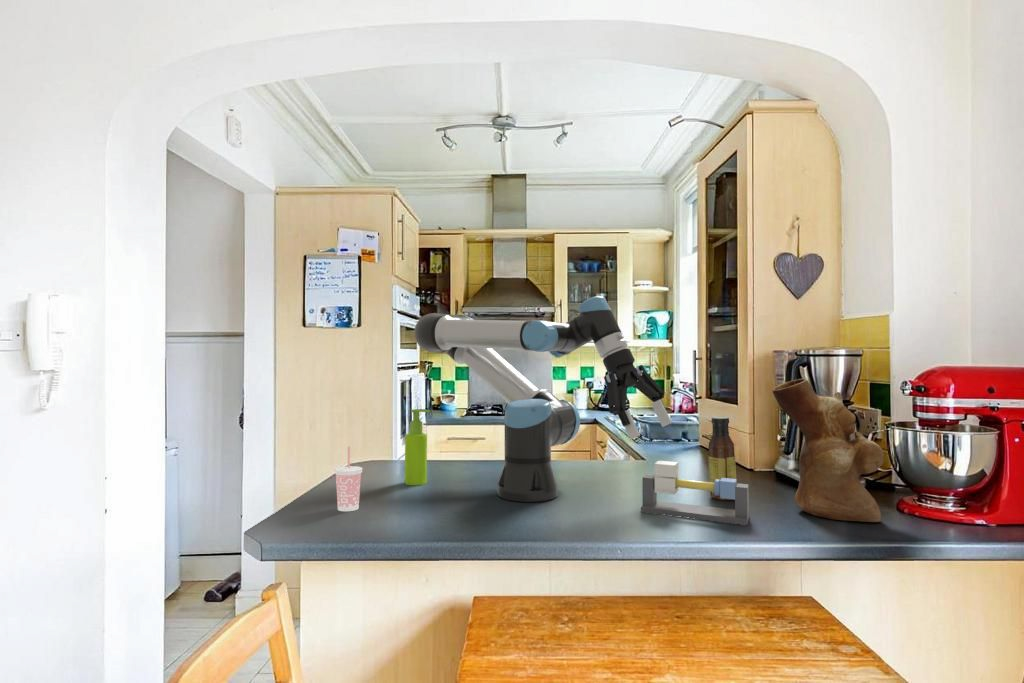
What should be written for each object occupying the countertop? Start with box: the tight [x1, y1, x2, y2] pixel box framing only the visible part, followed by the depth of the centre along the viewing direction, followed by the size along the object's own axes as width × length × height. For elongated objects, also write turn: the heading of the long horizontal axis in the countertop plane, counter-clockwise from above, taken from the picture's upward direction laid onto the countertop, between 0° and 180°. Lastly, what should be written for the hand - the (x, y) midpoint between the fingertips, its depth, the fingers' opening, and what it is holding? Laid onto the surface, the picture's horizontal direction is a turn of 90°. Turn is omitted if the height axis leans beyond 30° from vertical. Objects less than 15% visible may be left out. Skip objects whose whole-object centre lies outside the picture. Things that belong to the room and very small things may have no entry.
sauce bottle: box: [707, 416, 737, 501], centre depth 140 cm, size 7×6×20 cm
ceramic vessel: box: [771, 378, 885, 523], centre depth 126 cm, size 16×22×30 cm
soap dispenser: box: [404, 408, 432, 486], centre depth 154 cm, size 6×7×20 cm
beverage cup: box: [334, 446, 363, 512], centre depth 129 cm, size 6×6×14 cm
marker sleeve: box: [654, 460, 679, 496], centre depth 128 cm, size 4×4×6 cm
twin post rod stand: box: [640, 473, 750, 526], centre depth 125 cm, size 22×7×8 cm, turn 64°
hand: (651, 431), depth 139 cm, fingers open, 13 cm apart
